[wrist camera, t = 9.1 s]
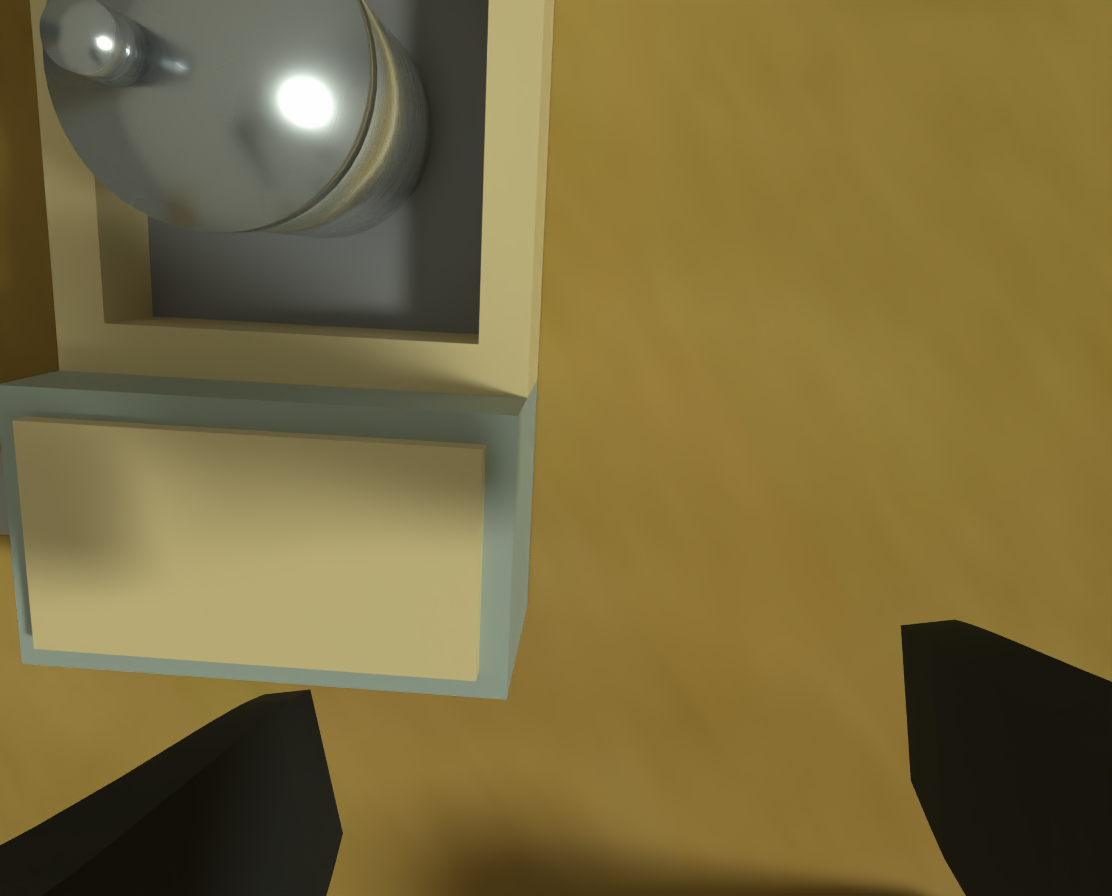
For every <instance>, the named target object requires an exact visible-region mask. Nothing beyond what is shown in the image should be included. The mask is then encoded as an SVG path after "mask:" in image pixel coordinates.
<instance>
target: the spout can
mask: <svg viewBox="0 0 1112 896" xmlns="http://www.w3.org/2000/svg"><path fill="white" fill-rule="evenodd" d="M39 29H40V38H41V41H42V48H43V64H44V70H45V76H46V81H47V87H48V91H49V94H50V97H51V100H52V104H53V107H54V110H55V113H56V115H57V117H58V119H59V122H60V124H61V126H62V129H63V131H64V133H65V134H66V136H67V138H68V140H69V141H70V143H71V145H72V147H73V148H74V150H75V152H76V153H77V154H78V156H79V157H80V158H81V160H82V161H83V162H84V164H85V165H86V166H87V168H88V169H89V170H90V171H91V172H92V173H93V174H94V175H95V176H96V177H97V179H98V180H99V181H100V182H101V183H102V184H103V185H104V186H105V187H107V188H108V189H109V190H110V191H111V192H113V193H114V194H115V195H116V196H117V197H119V198H120V199H121V200H123V201H124V202H126V203H127V204H129V205H130V206H132V207H133V208H135V209H136V210H138V211H140V212H142V213H144V214H146V215H148V216H150V217H152V218H154V219H156V220H158V221H161V222H164V223H167V224H170V225H173V226H176V227H180V228H185V229H191V230H196V231H203V232H213V233H231V234H234V233H246V232H255V231H261V232H270V233H278V234H287V235H295V236H304V237H313V238H328V239H330V238H342V237H347V236H352V235H356V234H359V233H362V232H364V231H367V230H370V229H371V228H373V227H375V226H377V225H379V224H381V223H382V222H384V221H385V220H386V219H388V218H389V217H391V216H392V215H393V214H394V213H395V212H396V211H397V210H398V209H399V208H400V207H401V206H402V205H404V203H405V202H406V201H407V199H408V198H409V197H410V196H411V194H412V193H413V191H414V190H415V188H416V186H417V185H418V183H419V181H420V179H421V177H422V174H423V172H424V170H425V167H426V164H427V160H428V157H429V153H430V147H431V140H432V114H431V106H430V101H429V97H428V92H427V89H426V86H425V84H424V81H423V78H422V76H421V74H420V72H419V70H418V68H417V66H416V64H415V62H414V61H413V59H412V58H411V56H410V55H409V53H408V52H407V50H406V49H405V48H404V47H403V45H402V44H401V43H400V42H399V41H398V40H397V38H396V37H395V36H394V35H393V34H392V32H391V31H390V30H389V29H388V28H387V27H386V25H385V24H384V23H383V22H382V21H381V20H380V18H379V17H378V16H377V15H376V14H375V13H374V11H373V10H372V9H371V8H370V7H369V6H368V4H367V3H366V2H365V1H364V0H47V3H46V7H45V8H44V10H43V12H42V15H41V19H40V27H39Z"/></svg>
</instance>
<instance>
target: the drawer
mask: <svg viewBox="0 0 1112 896" xmlns="http://www.w3.org/2000/svg"><path fill="white" fill-rule="evenodd" d="M364 1H365V2H366V3H367V4H368V6H369V7H370V8H371V9H372V10H373V11H374V13H375V14H376V15H377V16H378V17H379V18H380V20H381V21H382V22H383V23H384V24H385V25H386V27H387V28H388V29H389V30H390V31H391V32H392V34H393V35H394V36H395V37H396V38H397V40H398V41H399V42H400V43H401V44H402V45H403V47H404V48H405V49H406V50H407V52H408V53H409V55H410V56H411V58H412V59H413V61H414V62H415V64H416V66H417V68H418V70H419V72H420V74H421V76H422V78H423V81H424V84H425V86H426V89H427V92H428V97H429V101H430V106H431V114H432V140H431V147H430V153H429V157H428V160H427V164H426V167H425V170H424V172H423V174H422V177H421V179H420V181H419V183H418V185H417V186H416V188H415V190H414V191H413V193H412V194H411V196H410V197H409V198H408V199H407V201H406V202H405V203H404V205H402V206H401V207H400V208H399V209H398V210H397V211H396V212H395V213H394V214H393V215H392V216H391V217H389V218H388V219H386V220H385V221H384V222H382V223H381V224H379V225H377V226H375V227H373V228H371V229H370V230H367V231H364V232H362V233H359V234H356V235H352V236H347V237H342V238H330V239H328V238H313V237H304V236H295V235H287V234H278V233H270V232H261V231H255V232H246V233H234V234H231V233H213V232H203V231H196V230H191V229H185V228H180V227H176V226H173V225H170V224H167V223H164V222H161V221H158V220H156V219H154V218H152V217H150V216H148V215H146V214H144V213H142V212H140V211H138V210H136V209H135V208H133V207H132V206H130V205H129V204H127V203H126V202H124V201H123V200H121V199H120V198H119V197H117V196H116V195H115V194H114V193H113V192H111V191H110V190H109V189H108V188H107V187H105V186H104V185H103V184H102V183H101V182H100V181H99V180H98V179H97V177H96V176H95V175H94V174H93V173H92V172H91V171H90V170H89V169H88V168H87V166H86V165H85V164H84V162H83V161H82V160H81V158H80V157H79V156H78V154H77V153H76V152H75V150H74V148H73V147H72V145H71V143H70V141H69V140H68V138H67V136H66V134H65V133H64V131H63V129H62V126H61V124H60V122H59V119H58V117H57V115H56V113H55V110H54V107H53V104H52V100H51V97H50V94H49V91H48V87H47V81H46V76H45V70H44V64H43V48H42V41H41V38H40V29H39V27H40V19H41V15H42V12H43V10H44V8H45V7H46V3H47V0H30V10H31V22H32V35H33V47H34V60H35V72H36V85H37V97H38V110H39V122H40V134H41V147H42V159H43V172H44V184H45V197H46V209H47V222H48V234H49V246H50V259H51V271H52V284H53V296H54V309H55V321H56V333H57V346H58V358H59V371H55V372H50V373H46V374H41V375H37V376H32V377H28V378H23V379H19V380H14V381H10V382H5V383H0V443H1V450H0V535H10V545H11V555H12V565H13V576H14V586H15V596H16V606H17V617H18V627H19V637H20V647H21V657H22V664H33V665H46V666H60V667H73V668H87V669H100V670H114V671H127V672H141V673H154V674H168V675H181V676H195V677H208V678H222V679H235V680H249V681H262V682H276V683H289V684H303V685H316V686H330V687H343V688H357V689H370V690H384V691H397V692H411V693H424V694H438V695H451V696H465V697H478V698H491V699H505V700H507V695H508V691H509V686H510V682H511V677H512V673H513V668H514V664H515V659H516V655H517V650H518V646H519V641H520V637H521V632H522V628H523V623H524V619H525V614H526V610H527V598H528V576H529V553H530V531H531V509H532V487H533V465H534V443H535V420H536V398H537V376H538V354H539V332H540V309H541V287H542V265H543V243H544V221H545V198H546V176H547V154H548V132H549V110H550V87H551V65H552V43H553V21H554V0H364Z"/></svg>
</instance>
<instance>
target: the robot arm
mask: <svg viewBox="0 0 1112 896" xmlns="http://www.w3.org/2000/svg"><path fill="white" fill-rule="evenodd" d="M901 635H902V650H903V666H904V681H905V696H906V712H907V727H908V743H909V758H910V773H911V782H912V784H913V787H914V789H915V791H916V794H917V796H918V799H919V801H920V804H921V806H922V808H923V811H924V813H925V816H926V818H927V820H928V823H929V825H930V827H931V830H932V832H933V834H934V836H935V839H936V841H937V843H938V845H939V848H940V850H941V852H942V854H943V857H944V859H945V860H946V862H947V864H948V866H949V867H950V869H951V871H952V873H953V874H954V876H955V878H956V880H957V881H958V883H959V885H960V886H961V888H962V890H963V891H964V893H965V895H966V896H1112V682H1111V681H1108V680H1106V679H1104V678H1101V677H1099V676H1096V675H1094V674H1091V673H1089V672H1086V671H1084V670H1081V669H1079V668H1077V667H1074V666H1072V665H1069V664H1067V663H1064V662H1062V661H1060V660H1057V659H1055V658H1053V657H1050V656H1048V655H1045V654H1043V653H1041V652H1038V651H1036V650H1034V649H1031V648H1029V647H1026V646H1024V645H1022V644H1019V643H1017V642H1015V641H1012V640H1010V639H1007V638H1005V637H1003V636H1000V635H998V634H995V633H993V632H990V631H987V630H985V629H982V628H980V627H977V626H974V625H971V624H968V623H965V622H961V621H958V620H947V621H938V622H929V623H920V624H910V625H901ZM342 835H343V832H342V828H341V823H340V819H339V814H338V810H337V806H336V801H335V797H334V792H333V788H332V783H331V779H330V775H329V770H328V766H327V761H326V757H325V753H324V748H323V744H322V739H321V735H320V730H319V726H318V722H317V717H316V713H315V708H314V704H313V699H312V695H311V691H310V690H302V691H293V692H283V693H274V694H265V695H262V696H259V697H257V698H255V699H252V700H250V701H248V702H246V703H244V704H242V705H240V706H238V707H236V708H234V709H233V710H231V711H229V712H227V713H225V714H224V715H222V716H220V717H218V718H217V719H215V720H213V721H212V722H210V723H208V724H207V725H205V726H203V727H202V728H200V729H198V730H197V731H195V732H194V733H192V734H190V735H189V736H187V737H185V738H184V739H182V740H180V741H179V742H177V743H176V744H174V745H172V746H171V747H169V748H167V749H166V750H164V751H163V752H161V753H159V754H158V755H156V756H155V757H153V758H151V759H150V760H148V761H146V762H145V763H143V764H142V765H140V766H138V767H137V768H135V769H133V770H132V771H130V772H129V773H127V774H125V775H124V776H122V777H120V778H119V779H117V780H115V781H113V782H112V783H110V784H108V785H107V786H105V787H103V788H101V789H100V790H98V791H96V792H94V793H93V794H91V795H89V796H88V797H86V798H84V799H82V800H81V801H79V802H77V803H75V804H74V805H72V806H70V807H69V808H67V809H65V810H63V811H62V812H60V813H58V814H56V815H55V816H53V817H51V818H50V819H48V820H46V821H44V822H43V823H41V824H39V825H37V826H36V827H34V828H32V829H30V830H28V831H26V832H24V833H23V834H21V835H19V836H17V837H15V838H13V839H11V840H9V841H8V842H6V843H4V844H2V845H0V896H326V894H327V891H328V888H329V884H330V881H331V877H332V874H333V870H334V866H335V862H336V858H337V854H338V850H339V846H340V842H341V838H342Z"/></svg>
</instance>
